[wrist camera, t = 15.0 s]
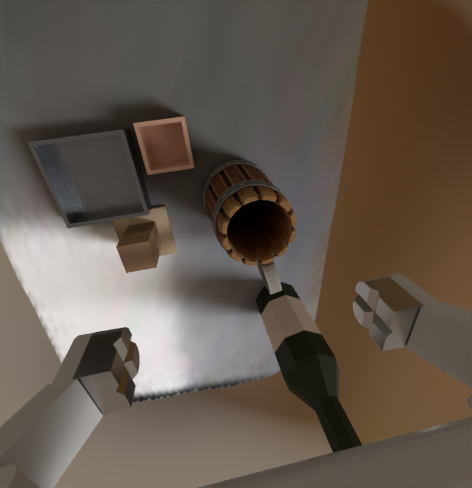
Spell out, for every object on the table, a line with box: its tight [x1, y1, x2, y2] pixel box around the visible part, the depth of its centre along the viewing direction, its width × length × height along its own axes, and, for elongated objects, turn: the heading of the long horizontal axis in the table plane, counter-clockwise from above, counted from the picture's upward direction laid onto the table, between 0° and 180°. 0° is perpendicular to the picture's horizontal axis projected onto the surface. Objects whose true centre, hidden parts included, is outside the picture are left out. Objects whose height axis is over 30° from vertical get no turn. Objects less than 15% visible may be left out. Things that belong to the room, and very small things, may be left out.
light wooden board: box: [112, 206, 177, 256], centre depth 39 cm, size 8×8×1 cm
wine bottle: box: [256, 282, 362, 453], centre depth 36 cm, size 8×8×30 cm
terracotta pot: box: [133, 116, 194, 175], centre depth 32 cm, size 6×6×4 cm
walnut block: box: [116, 222, 162, 273], centre depth 36 cm, size 4×4×7 cm
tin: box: [27, 128, 152, 228], centre depth 33 cm, size 11×11×3 cm
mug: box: [203, 160, 296, 295], centre depth 33 cm, size 16×11×15 cm
